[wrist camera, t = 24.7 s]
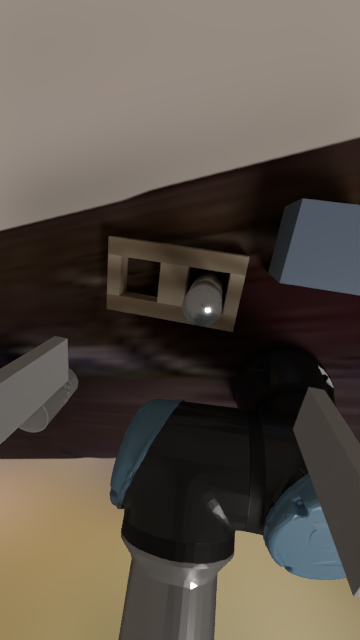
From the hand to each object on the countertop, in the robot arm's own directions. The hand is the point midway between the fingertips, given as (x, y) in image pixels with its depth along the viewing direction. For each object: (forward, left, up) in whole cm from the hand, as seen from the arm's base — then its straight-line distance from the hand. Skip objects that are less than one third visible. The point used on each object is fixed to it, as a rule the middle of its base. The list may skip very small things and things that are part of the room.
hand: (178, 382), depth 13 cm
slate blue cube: (+8, -13, -27) cm, 31 cm away
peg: (0, 0, -27) cm, 27 cm away
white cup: (-23, +25, -27) cm, 43 cm away
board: (0, +5, -27) cm, 27 cm away
